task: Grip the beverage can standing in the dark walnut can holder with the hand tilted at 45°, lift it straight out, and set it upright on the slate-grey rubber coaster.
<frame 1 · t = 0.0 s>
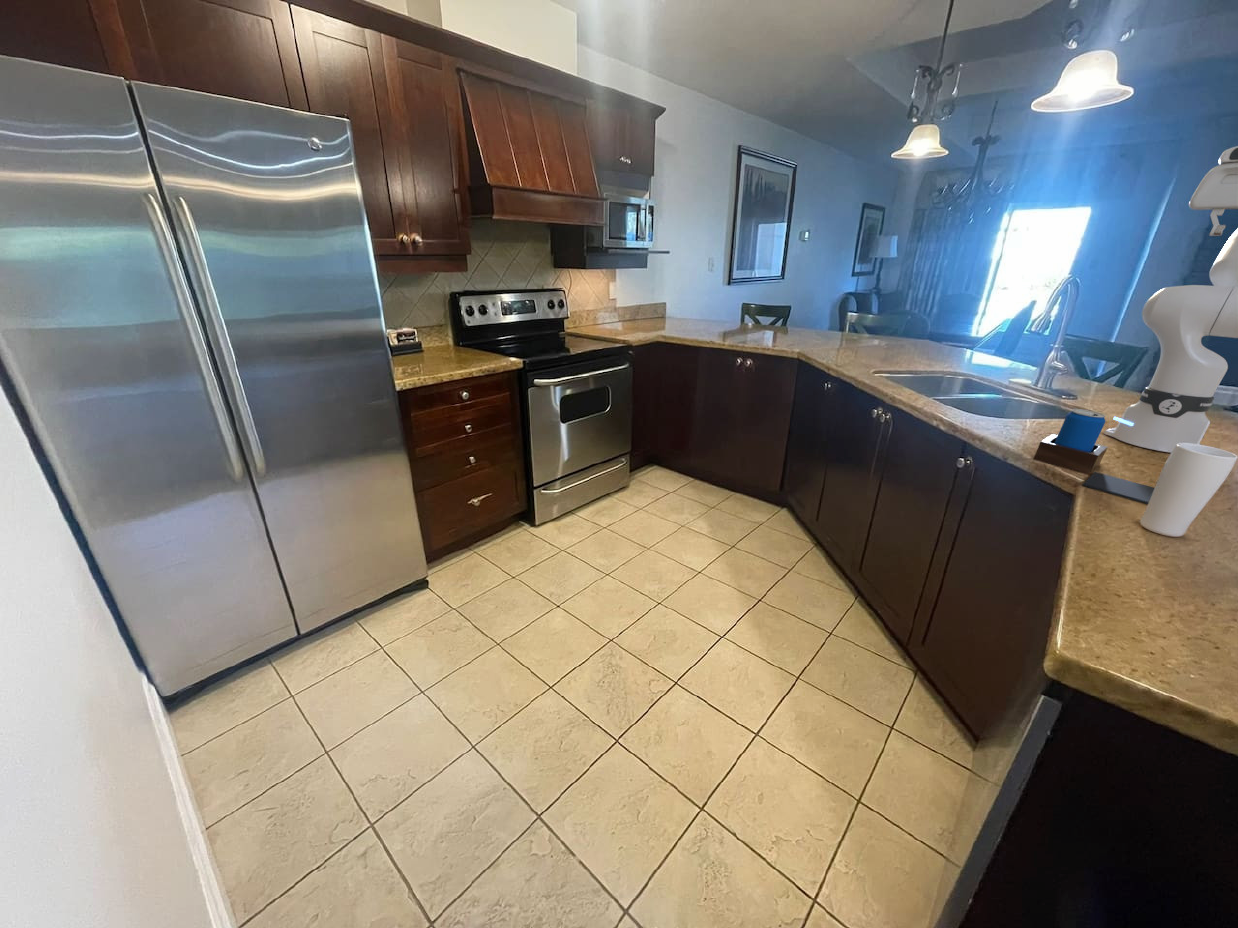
coaster: (1123, 489, 97), on the countertop
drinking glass: (1159, 531, 82), on the countertop
can holder: (1065, 462, 110), on the countertop
beverage can: (1065, 462, 110), resting in can holder
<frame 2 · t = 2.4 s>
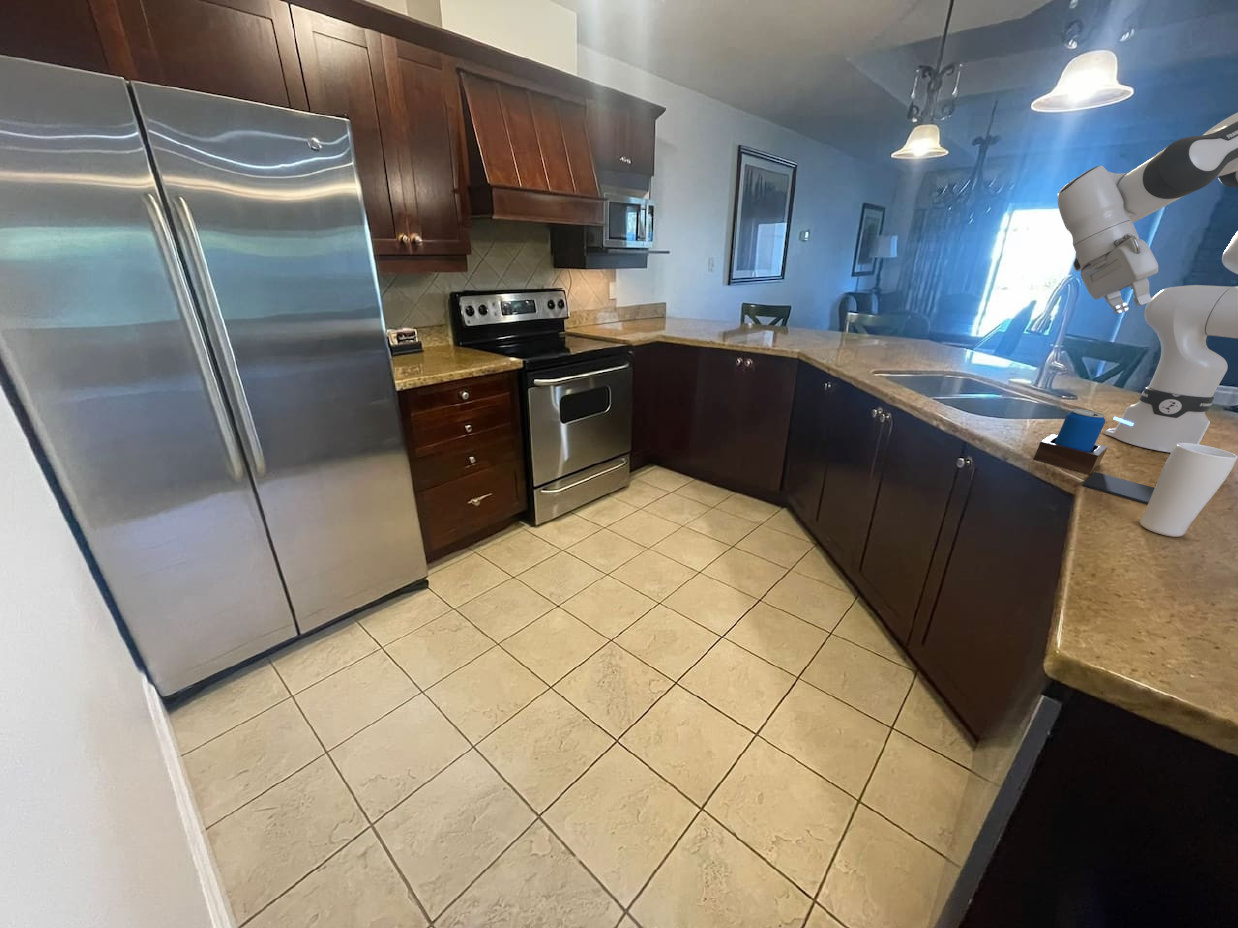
hand: (1132, 308, 97), 34 cm above the countertop, tool tilted 35°, fingers open, 8 cm apart
nothing on the countertop moved.
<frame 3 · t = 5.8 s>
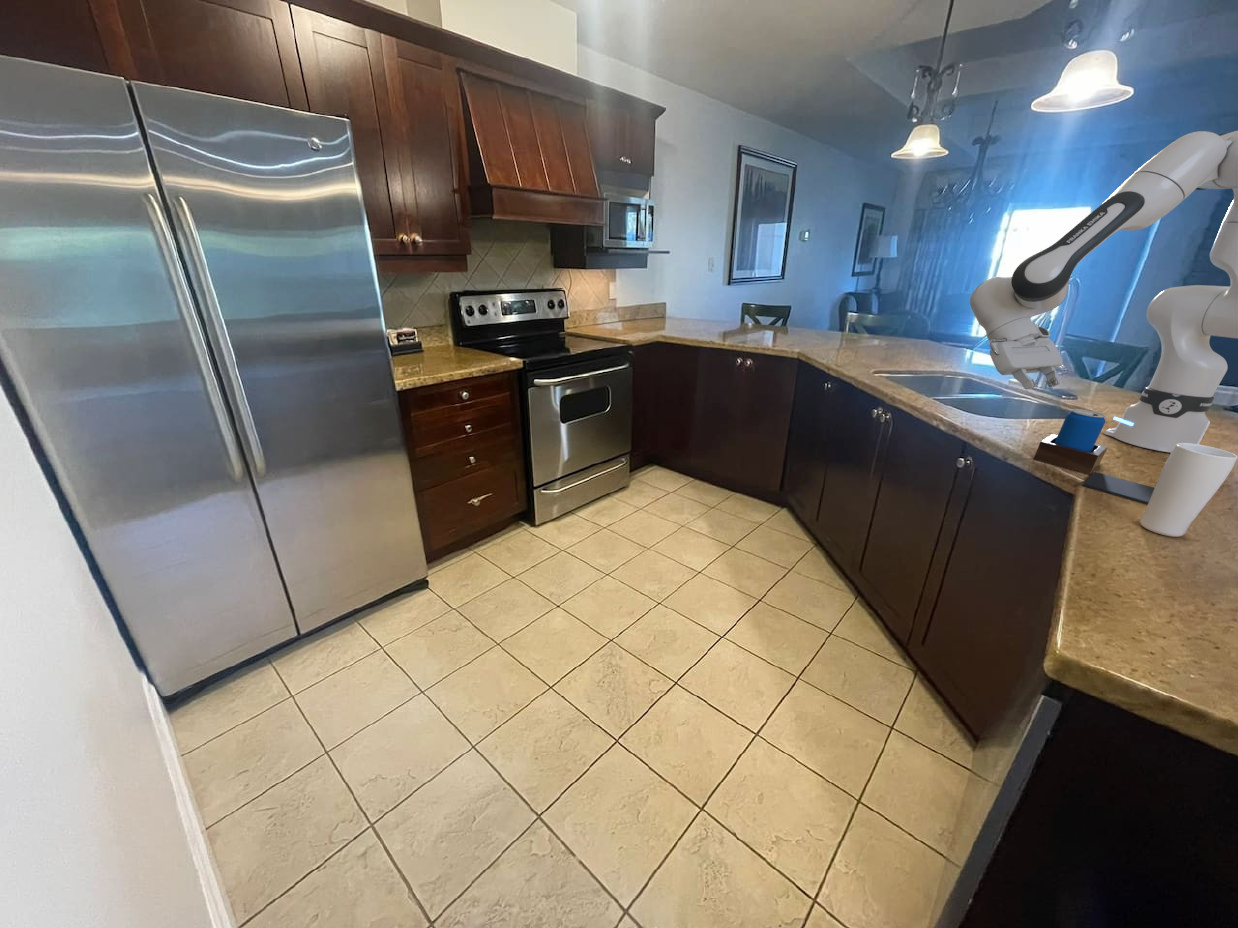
hand: (1043, 386, 112), 15 cm above the countertop, tool tilted 45°, fingers open, 8 cm apart
nothing on the countertop moved.
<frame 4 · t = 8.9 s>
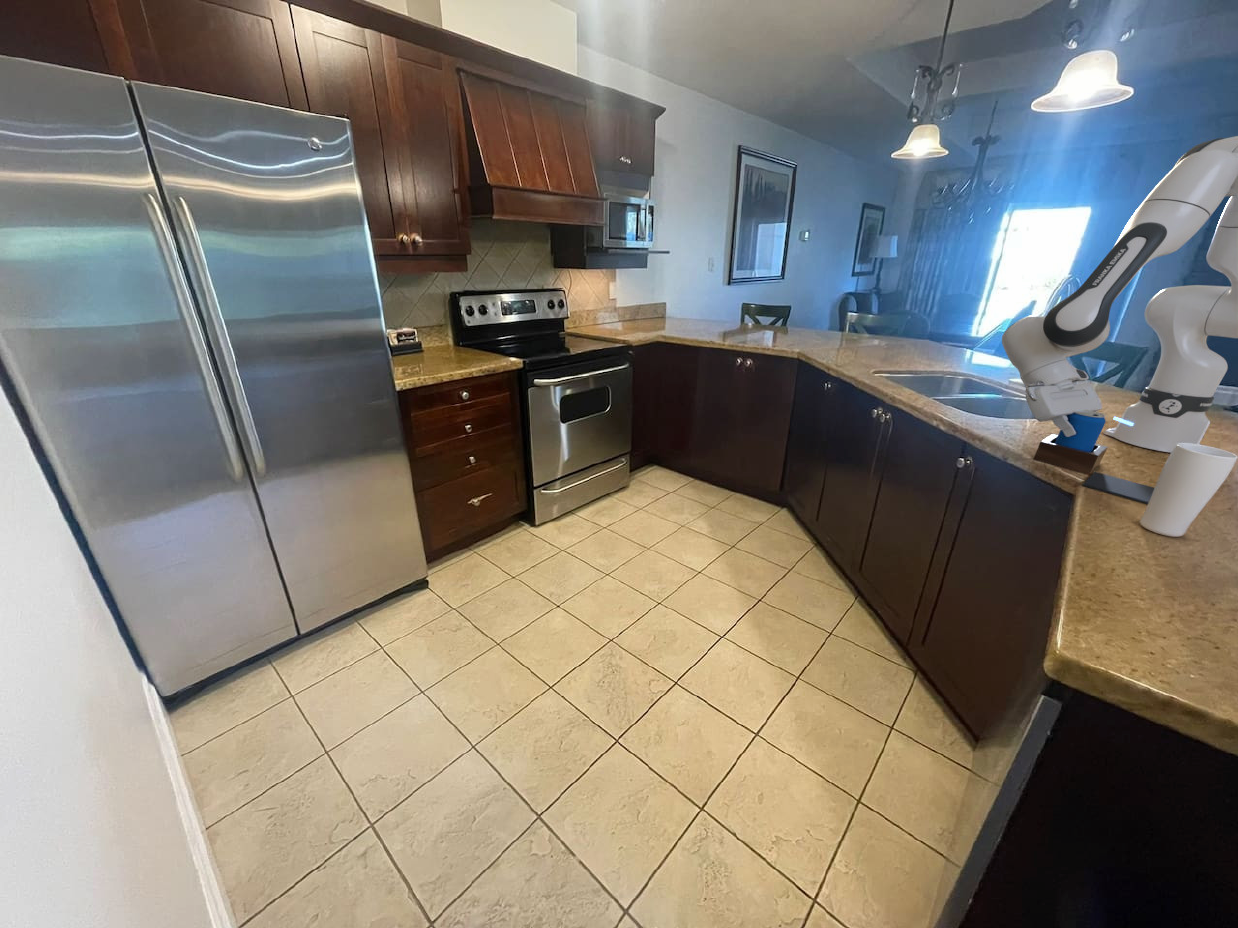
hand: (1082, 433, 106), 7 cm above the countertop, tool tilted 45°, fingers closed on beverage can, 6 cm apart
beverage can: (1065, 462, 110), resting in can holder, touching gripper
everything else where it was.
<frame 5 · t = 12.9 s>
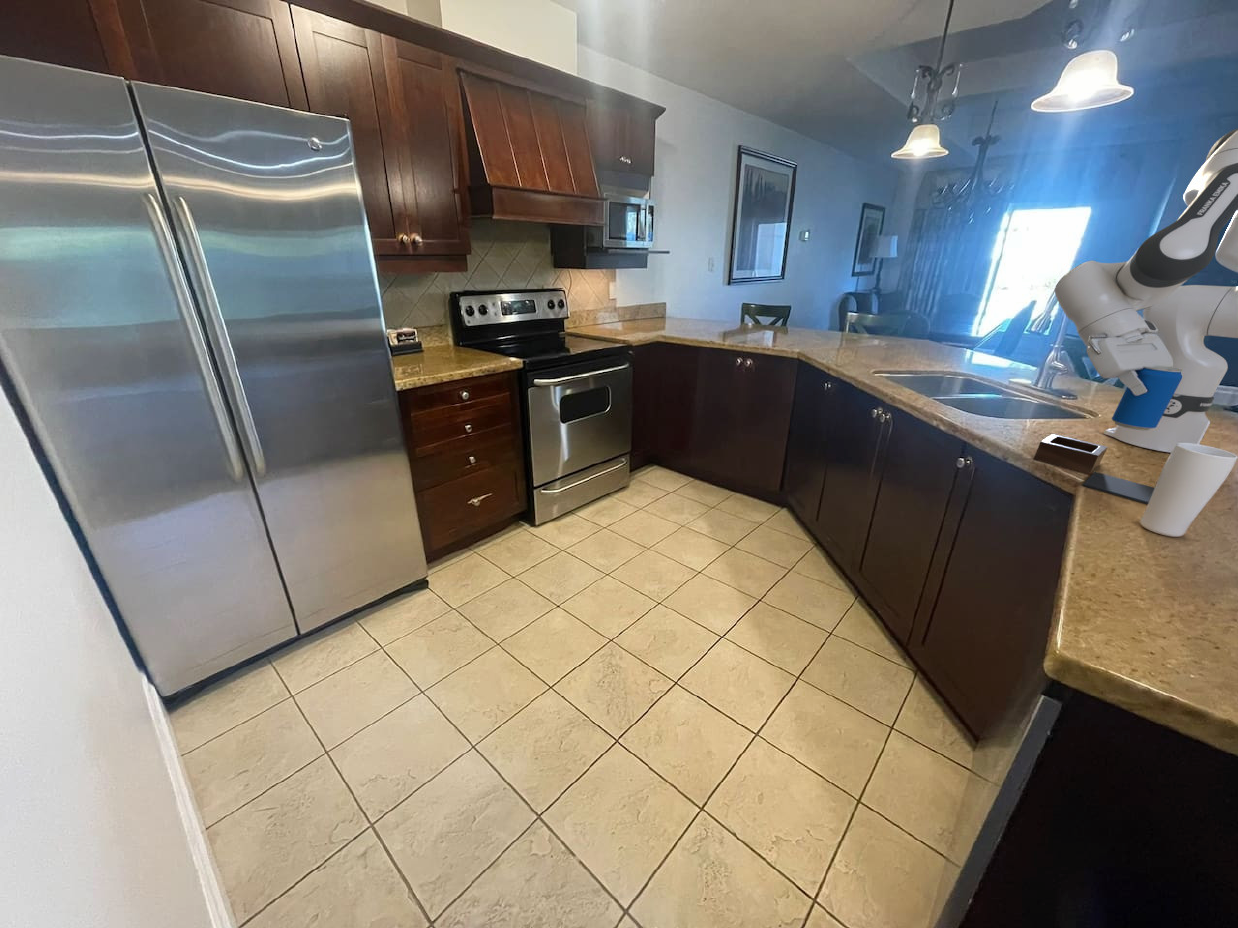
hand: (1153, 392, 92), 19 cm above the countertop, tool tilted 45°, fingers closed on beverage can, 6 cm apart
beverage can: (1131, 427, 96), point 12 cm above the countertop, touching gripper
everything else where it was.
when the fingers open (8 cm above the countertop, at t = 17.2 s): beverage can stays where it is, resting on coaster.
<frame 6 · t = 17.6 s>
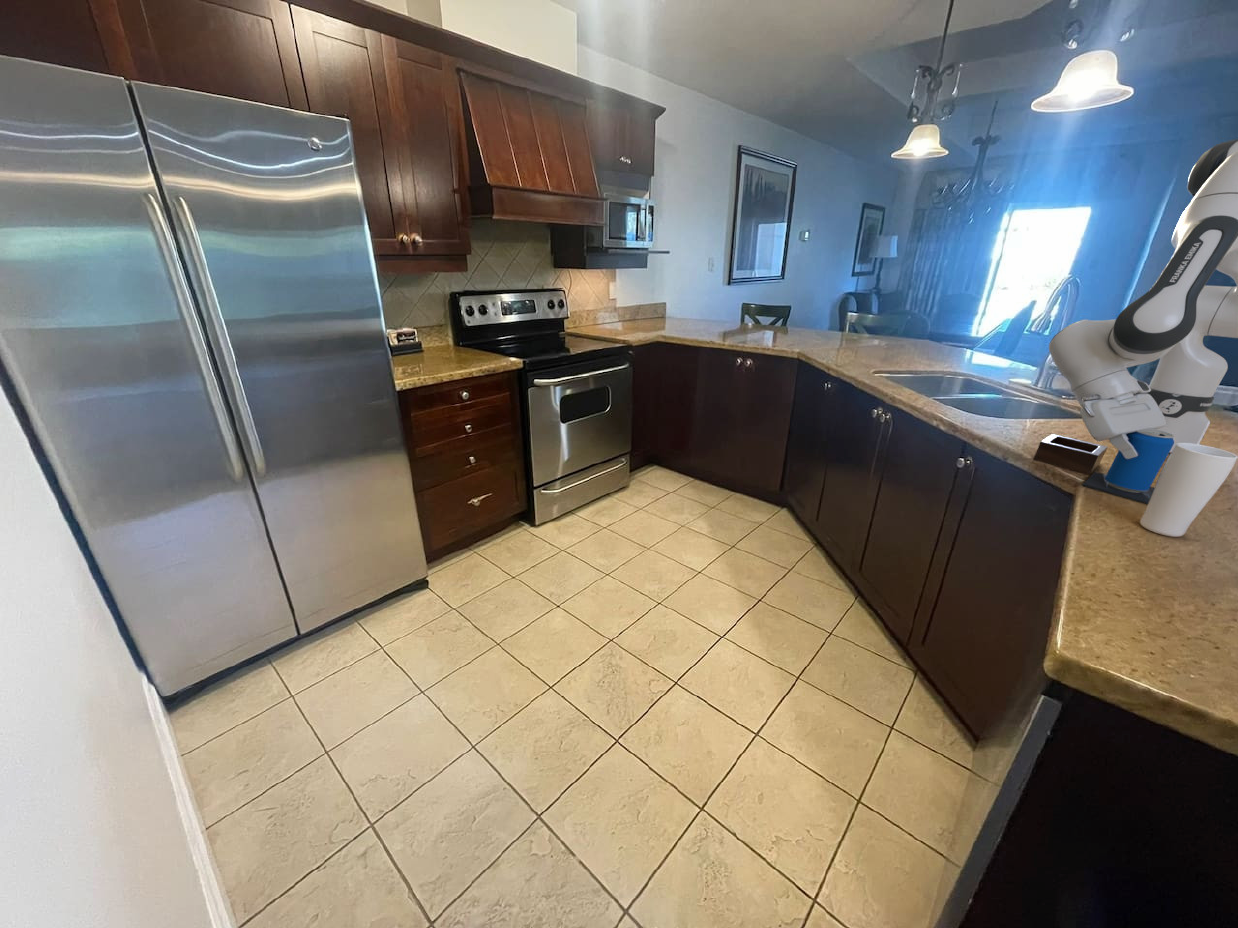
hand: (1146, 454, 93), 8 cm above the countertop, tool tilted 45°, fingers open, 8 cm apart
beverage can: (1124, 488, 97), resting on coaster
everything else where it was.
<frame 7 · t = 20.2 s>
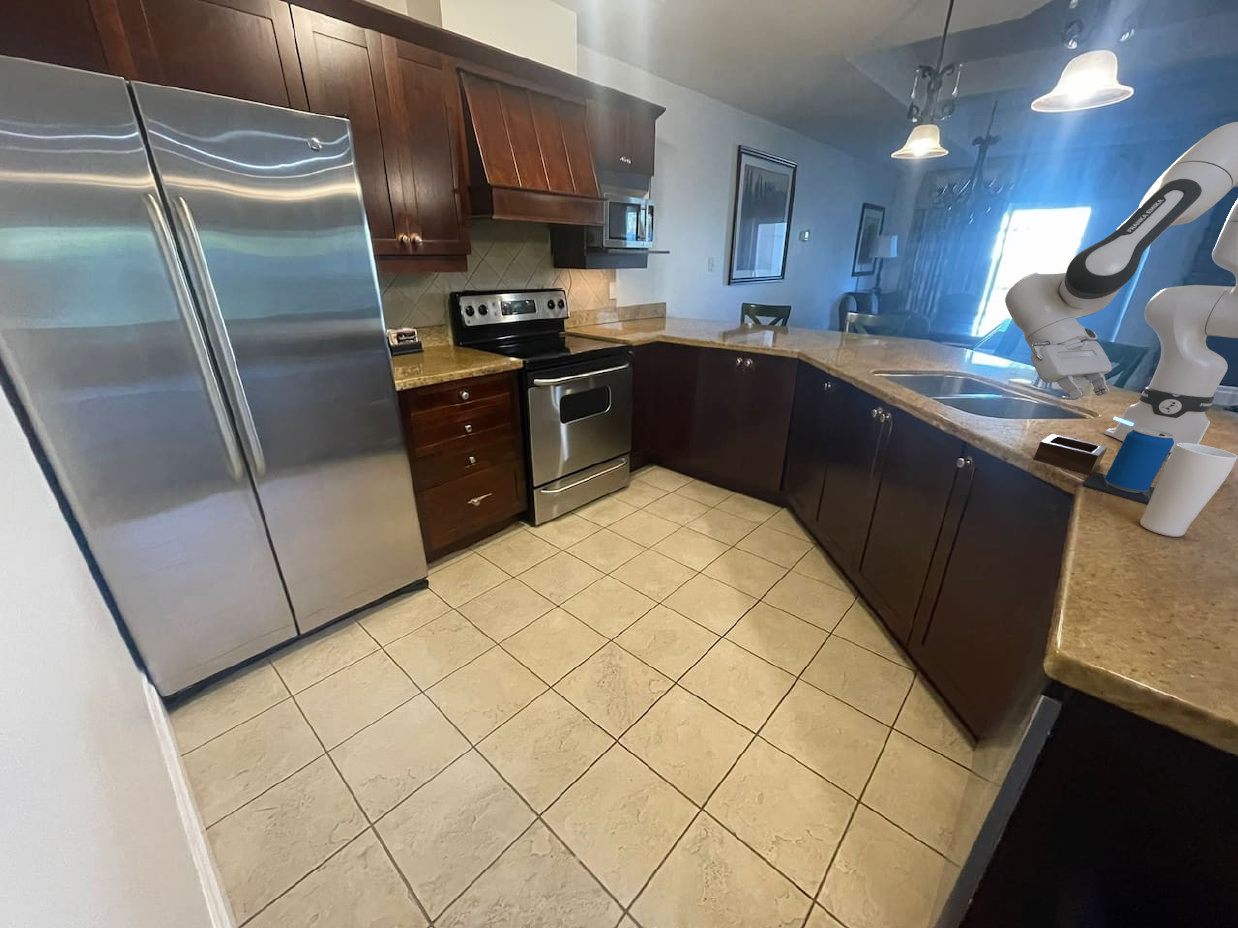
hand: (1091, 395, 100), 17 cm above the countertop, tool tilted 45°, fingers open, 8 cm apart
nothing on the countertop moved.
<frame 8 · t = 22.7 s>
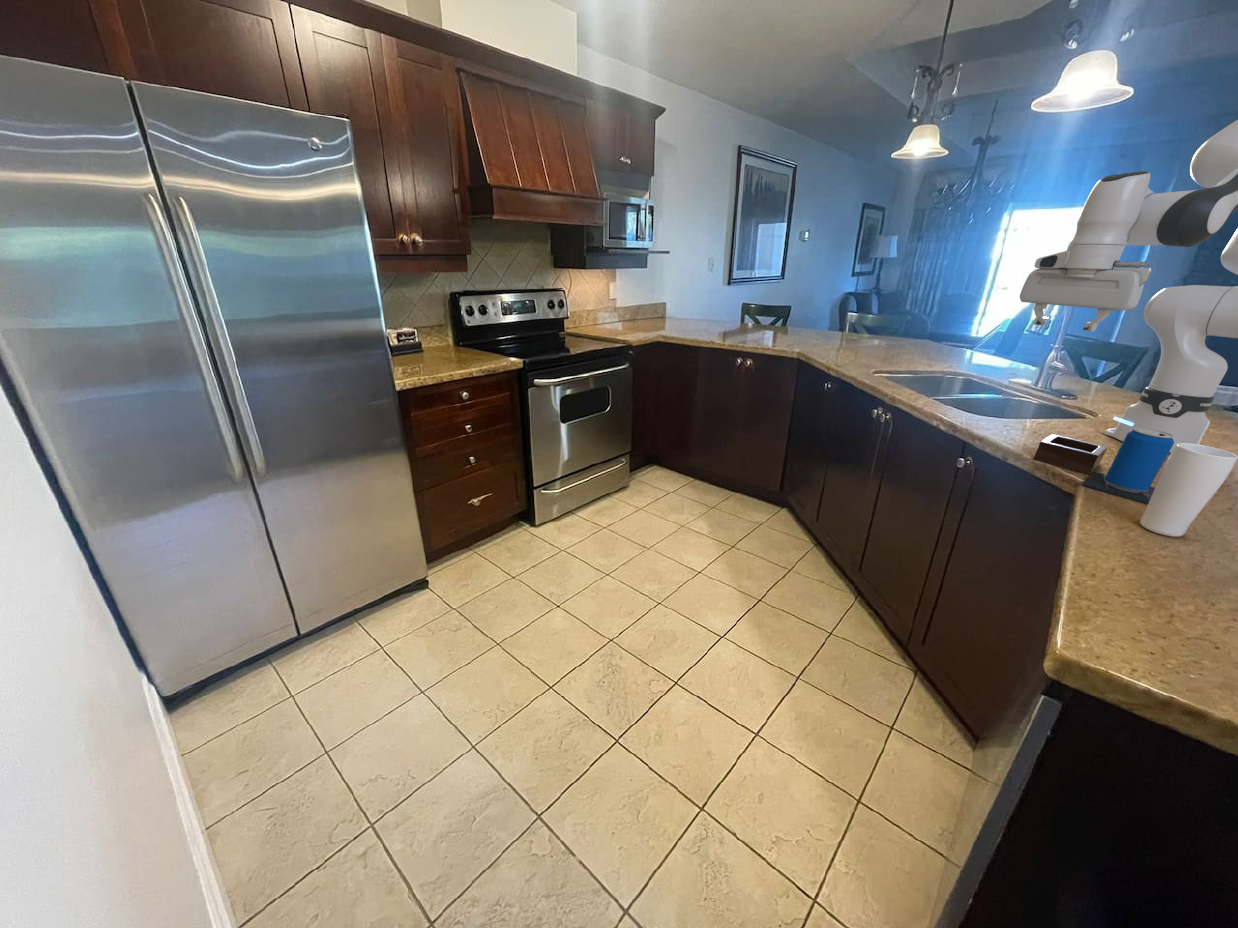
hand: (1062, 327, 105), 29 cm above the countertop, tool pointing down, fingers open, 8 cm apart
nothing on the countertop moved.
at the end: beverage can inside the target area on the coaster (0.1 cm from its centre), point 0.3 cm above the coaster's base; beverage can tilted 0°; the gripper is holding nothing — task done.
